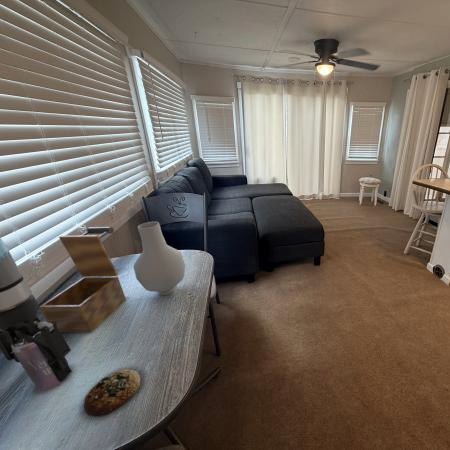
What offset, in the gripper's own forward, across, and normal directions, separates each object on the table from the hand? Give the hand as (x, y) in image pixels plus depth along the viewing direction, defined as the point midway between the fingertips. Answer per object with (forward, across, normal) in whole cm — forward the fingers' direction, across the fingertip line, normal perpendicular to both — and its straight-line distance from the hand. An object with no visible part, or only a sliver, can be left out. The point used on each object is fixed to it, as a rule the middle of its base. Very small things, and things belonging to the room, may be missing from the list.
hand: (52, 376), depth 60 cm
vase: (+2, +9, +37) cm, 38 cm away
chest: (+2, -10, +23) cm, 25 cm away
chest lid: (-18, -9, +30) cm, 36 cm away
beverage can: (+2, 0, 0) cm, 2 cm away
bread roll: (+2, +18, -3) cm, 18 cm away
